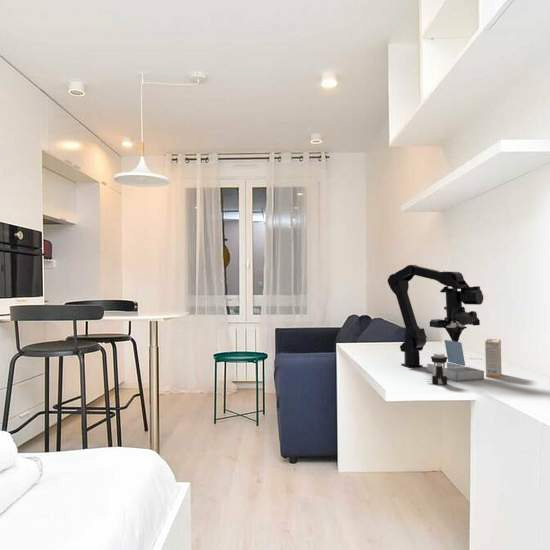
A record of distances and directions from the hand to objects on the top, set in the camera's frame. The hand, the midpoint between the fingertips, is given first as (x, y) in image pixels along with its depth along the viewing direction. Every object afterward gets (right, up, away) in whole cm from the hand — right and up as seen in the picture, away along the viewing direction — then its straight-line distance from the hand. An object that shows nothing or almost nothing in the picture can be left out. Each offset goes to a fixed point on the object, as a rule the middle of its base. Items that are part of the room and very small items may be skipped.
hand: (455, 344), depth 175 cm
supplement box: (+12, -11, -6) cm, 17 cm away
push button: (-14, -11, -19) cm, 26 cm away
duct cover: (-1, -3, 0) cm, 3 cm away
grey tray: (-3, -10, -6) cm, 12 cm away
